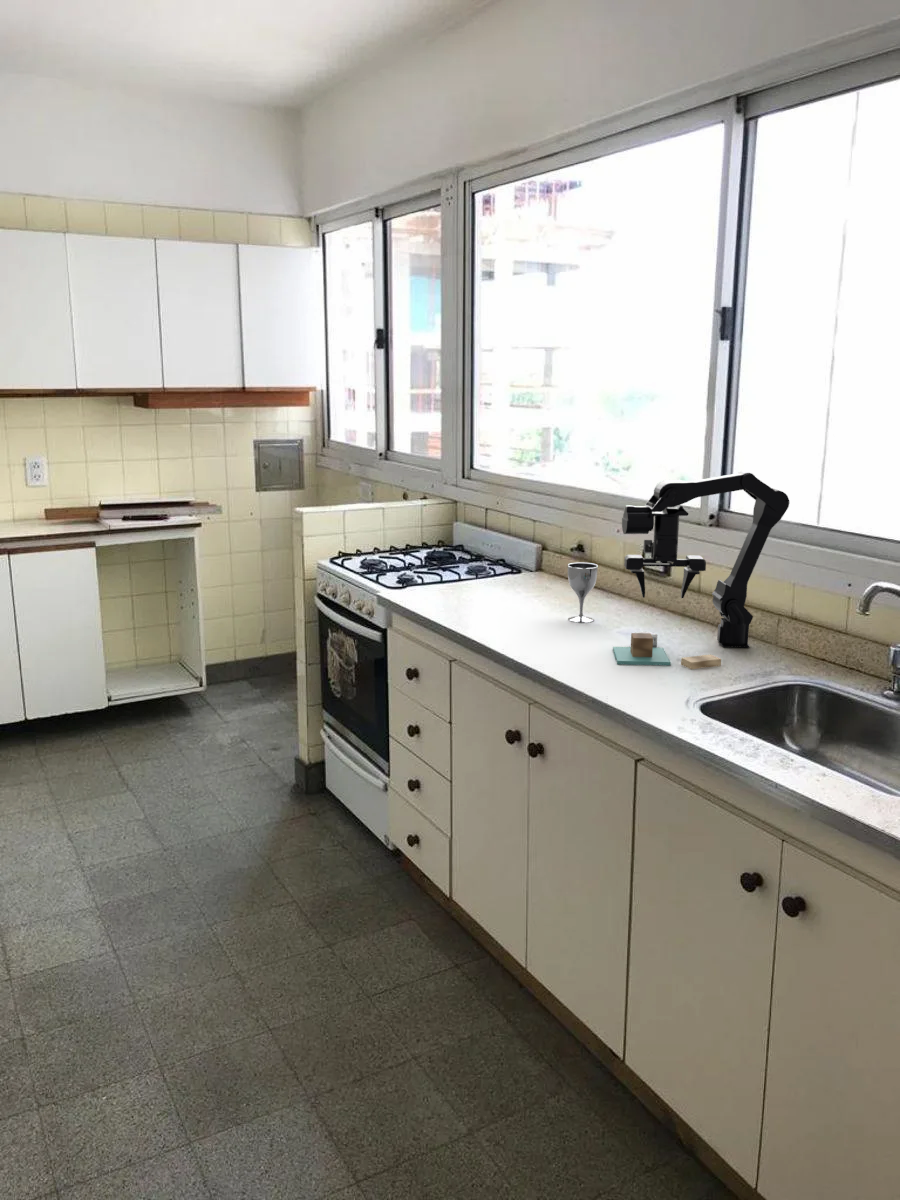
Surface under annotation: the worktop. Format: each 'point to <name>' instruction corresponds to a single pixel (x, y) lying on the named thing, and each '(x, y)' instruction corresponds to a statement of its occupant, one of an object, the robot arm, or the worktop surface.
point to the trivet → (625, 657)
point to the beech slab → (700, 661)
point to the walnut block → (641, 644)
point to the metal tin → (653, 638)
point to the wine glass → (582, 585)
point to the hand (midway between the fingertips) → (662, 597)
